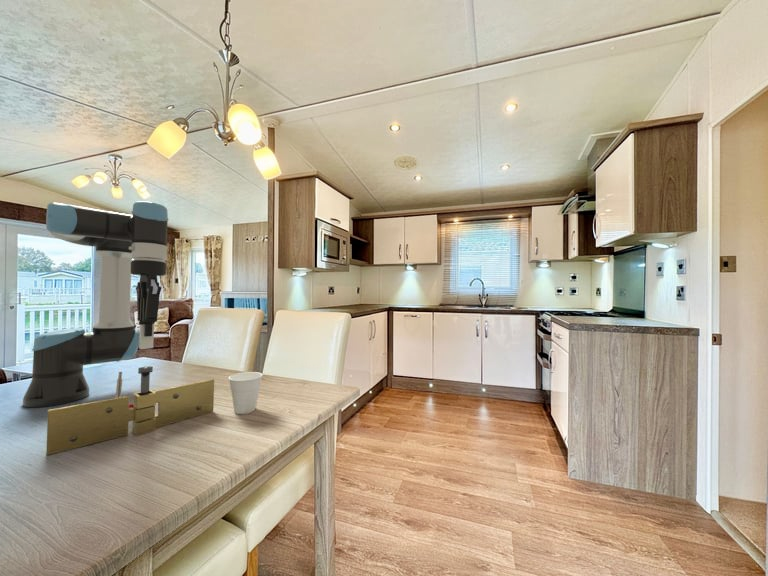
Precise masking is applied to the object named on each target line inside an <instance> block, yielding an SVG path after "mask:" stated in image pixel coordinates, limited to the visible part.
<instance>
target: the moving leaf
mask: <svg viewBox="0 0 768 576" xmlns="http://www.w3.org/2000/svg"><path fill="white" fill-rule="evenodd" d="M129 404H130V395H125V396H123V395H122V396H121V397H118V398H116V397H113V398H107V399H102V400H97V401H90V402H87V403H86V402H85V403H80V404H74V405H69V406H63V407H58V408H51V409H47V425H46V427H47V429H46V450H45V453H46V456H49V455H51V454H56V453H60V452H64V451H67V450H72V449H77V448H79V447H80V448H81V447H83V446H89V445H92V444H96V443H100V442H101V443H102V442H104V441H109V440H112V439H116V438H120V437H125V436H127V435H129V422H132V421H134V420H135V422H139V421H143V420H147V419H152V418H155V415H156V405H154V406H149V407H147V408H142V409H136V408H135V407H130V408H129Z"/></svg>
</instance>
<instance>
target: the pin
mask: <svg viewBox="0 0 768 576" xmlns="http://www.w3.org/2000/svg"><path fill="white" fill-rule="evenodd" d="M153 371H154V368H153V366H152V365H151V366H150V365H149V366H141V367H138V374H139V375H140V392H141V395H146V394H149V390H150V377H151V376H150V375H151V373H153ZM141 395H140V396H141ZM145 408H147V407H145ZM141 409H142V408H141Z"/></svg>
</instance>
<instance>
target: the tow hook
mask: <svg viewBox="0 0 768 576" xmlns="http://www.w3.org/2000/svg"><path fill="white" fill-rule="evenodd" d="M122 390H123V372H122V371H118V377H117V380H116V391H115V398H118V397H122ZM131 408H134V406H133V403H129V409H131Z"/></svg>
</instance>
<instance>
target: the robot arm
mask: <svg viewBox="0 0 768 576" xmlns="http://www.w3.org/2000/svg"><path fill="white" fill-rule="evenodd" d="M46 207H47V208H46V214H45V215H46V219H45V221H46V222H45V223H46V224H45V226H46V230H47V231H48V232H50V233H51V235H53V236H54V237H56V238H57V239H60V240H63V241H65V242H67V243H72V244H75V245H81V246H88V247H95V253H97V254H98V255H99V256H100V257H101V258H100V259H101V260H100V285H99V308H98V309H99V311H98V322H97V323H95V324H94V325H93V326H92V331H86V330H85V329H84V328H82V327H81V328H80V327H79V328H68V329H60V330H55V331H49V332H44V333H41V334H39V335H37V336H36V337H35V338H34V341H33V348H32V351H33V359H32V374H31V382H30V383H29V386H28V388H27V390H26V391H25V393H24V396H23V397H22V407H26V408H44V407H51V406H58V405H63V404H67V403H71V402H76V401H79V400H82V399H84V398H86V397H88V396H89V395H90V386H89V385H88V383H87V380H86V378H85V375H84V366H88V365H96V364H105V363H111V362H121V361H122V362H123V361H126V360H127V361H128V360H131V359H132V358H134V357H135V356H136V354H137V352H138V349H139V350H147V349H154V342H155V341H154V336H155V334H154V333H155V332H154V331H155V323H156V322H157V321H158V316H159V315H158V313H159V305H160V297H161V292H162V286H160V282H159V281H158V277H164V276H166V273H167V263H166V262H164V261H167V259H168V258H167V257H168V246H167V245H168V222H169V215H168V208H167V207H166V206H165V205H163V204H161V203H156V202H151V201H142V200H141V201H140V200H139V201H135V202H134V203H133V205H132V211H131V214H127V213H120V212H115V211H108V210H103V209H102V210H101V209H95V208H90V207H84V206H78V205H73V204H70V203H69V204H68V203H59V202H49V203H48V204H47V205H46ZM132 275H134V276H139V281H137V283H136V285H137V286H135V287H136V288H135V290H136V300H137V301H136V303H137V304H136V305H137V318H136V319H137V321H138V325H139V329H137V328H135V324H134V323H133V322H132V321H131V319H130V318H131V317H130V314H131V293H132V292H131V291H132V290H131V289H132V287H131V286H132Z"/></svg>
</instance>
